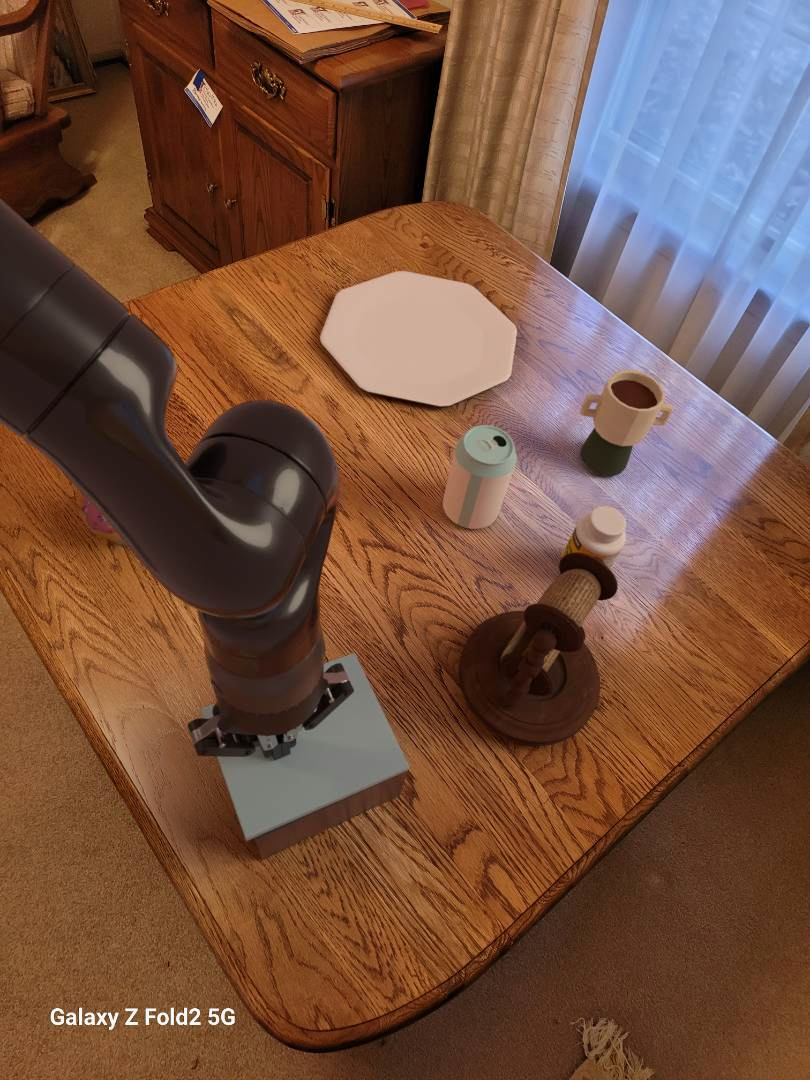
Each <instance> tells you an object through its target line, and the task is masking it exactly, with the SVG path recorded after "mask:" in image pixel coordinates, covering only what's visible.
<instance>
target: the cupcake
mask: <svg viewBox="0 0 810 1080" xmlns="http://www.w3.org/2000/svg"><path fill="white" fill-rule="evenodd" d="M81 502H82V506H81V511H82V518H83V522H84V523H85V524H86V526H87V527H88V528H89V529H90V530H91V531H92V533H93V534H94V535H95V536H96V537H100V538H101V539H105V540H108V541H111V542H113V543H114V544H116V545H119V546H123V547H128V546H127V545H126V544H125V542H124V541H123V540H122V539H121V537H120V536H119V535H118V534H117V532H116V531H115V530H114V529H113V528H112V526H111V525H110V524H109V523H108V522H107V521H106V520H105V518H104V517H103V516H102V515H101V514H100V513H99V512H98V511H97V510H96V508H95V507H94V506H93V505H92V504H91V503H90V502H89V501H88V500H87V499H86V498H85V496H84V495H83V500H82V501H81Z"/></svg>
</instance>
